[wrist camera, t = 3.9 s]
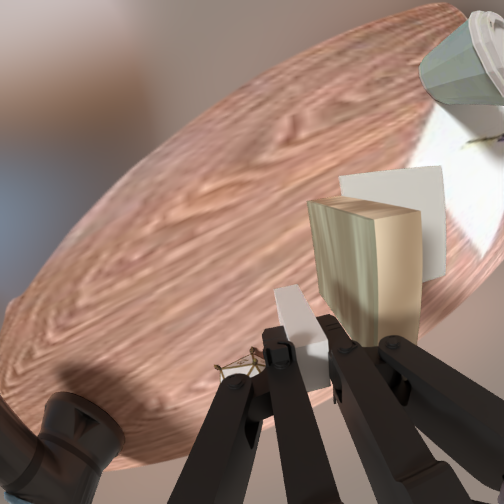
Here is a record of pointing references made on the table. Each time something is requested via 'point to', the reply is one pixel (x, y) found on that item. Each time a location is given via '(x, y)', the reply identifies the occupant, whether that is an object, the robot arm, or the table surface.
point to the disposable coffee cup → (468, 63)
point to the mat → (409, 205)
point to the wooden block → (369, 266)
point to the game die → (243, 366)
